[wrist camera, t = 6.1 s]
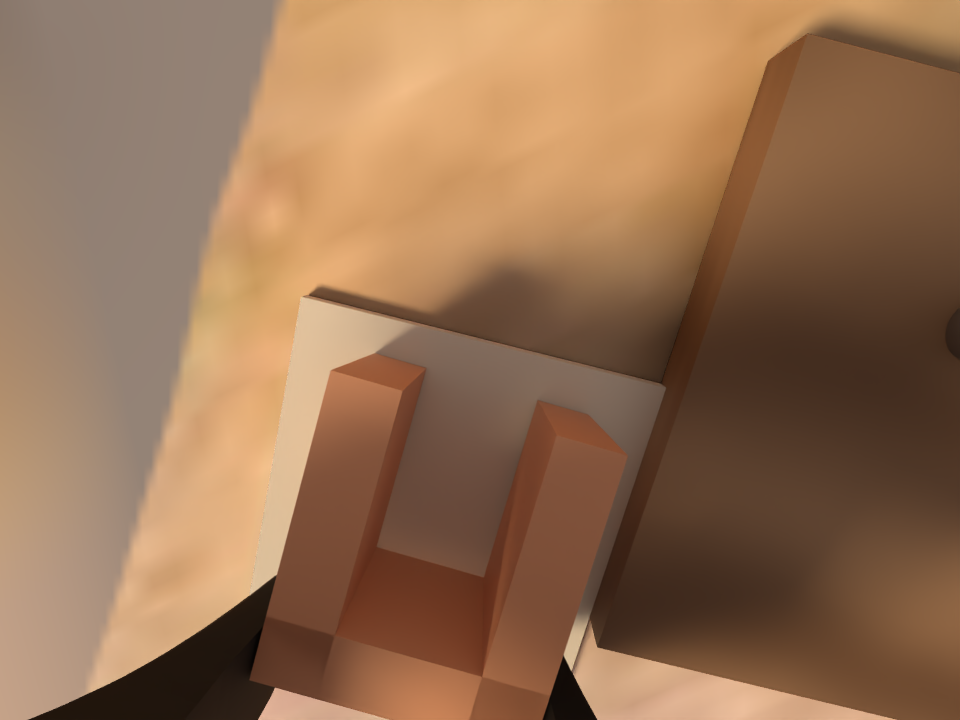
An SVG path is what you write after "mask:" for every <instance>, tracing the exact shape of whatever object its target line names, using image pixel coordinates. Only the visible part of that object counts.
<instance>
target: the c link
mask: <svg viewBox="0 0 960 720" xmlns="http://www.w3.org/2000/svg"><path fill="white" fill-rule="evenodd" d="M425 372H426V368H425V367H421V366H418V365H414V364H411V363H407V362H404V361H401V360H397V359H394V358H390V357H387V356H383V355H380V354H376V353H374V354H371V355H369V356H366V357H363V358H361V359H358V360H356V361H353V362H351V363H348V364H345V365H343V366H340V367H338V368H335V369H332V370H331V371H330V374H329V378H328V382H327V386H326V390H325V393H324V397H323V401H322V405H321V409H320V412H319V416H318V420H317V424H316V428H315V432H314V435H313V439H312V443H311V447H310V451H309V454H308V458H307V462H306V466H305V470H304V473H303V477H302V481H301V485H300V489H299V493H298V496H297V500H296V504H295V508H294V512H293V515H292V519H291V523H290V527H289V531H288V534H287V538H286V542H285V546H284V550H283V554H282V557H281V561H280V565H279V569H278V573H277V576H276V580H275V584H274V588H273V592H272V595H271V599H270V603H269V607H268V611H267V615H266V618H265V622H264V626H263V630H262V634H261V637H260V641H259V645H258V649H257V653H256V656H255V660H254V664H253V668H252V672H251V676H250V679H249V680H250V681H254V682H257V683H261V684H265V685H268V686H272V687H275V688H279V689H283V690H286V691H290V692H293V693H297V694H300V695H304V696H308V697H311V698H315V699H318V700H322V701H325V702H329V703H333V704H336V705H340V706H343V707H347V708H350V709H354V710H358V711H361V712H365V713H368V714H372V715H375V716H379V717H383V718H386V719H390V720H543V717H544V714H545V710H546V707H547V704H548V701H549V698H550V695H551V692H552V689H553V686H554V683H555V680H556V677H557V673H558V670H559V667H560V664H561V661H562V658H563V655H564V652H565V649H566V646H567V643H568V640H569V636H570V633H571V630H572V627H573V624H574V621H575V618H576V615H577V612H578V609H579V606H580V603H581V599H582V596H583V593H584V590H585V587H586V584H587V581H588V578H589V575H590V572H591V569H592V566H593V562H594V559H595V556H596V553H597V550H598V547H599V544H600V541H601V538H602V535H603V532H604V529H605V526H606V522H607V519H608V516H609V513H610V510H611V507H612V504H613V501H614V498H615V495H616V492H617V489H618V485H619V482H620V479H621V476H622V473H623V470H624V467H625V464H626V461H627V458H628V455H627V454H626V453H625V452H624V451H623V450H622V449H621V448H620V447H619V446H618V445H617V444H616V443H615V442H614V441H613V439H612V438H611V437H610V436H609V435H608V434H607V433H606V432H605V431H604V430H603V429H602V428H601V427H600V426H599V425H598V424H597V423H596V422H595V421H594V420H593V419H592V418H591V417H590V416H589V415H588V414H584V413H581V412H577V411H574V410H570V409H567V408H563V407H560V406H557V405H553V404H550V403H546V402H543V401H539V400H537V403H536V407H535V410H534V413H533V417H532V420H531V423H530V426H529V430H528V433H527V436H526V440H525V443H524V446H523V450H522V453H521V456H520V459H519V463H518V466H517V469H516V473H515V476H514V479H513V482H512V486H511V489H510V492H509V496H508V499H507V502H506V506H505V509H504V512H503V515H502V519H501V522H500V525H499V529H498V532H497V535H496V538H495V542H494V545H493V548H492V552H491V555H490V558H489V562H488V565H487V568H486V571H485V575H484V577H480V576H477V575H473V574H470V573H466V572H463V571H459V570H456V569H452V568H449V567H445V566H442V565H438V564H435V563H431V562H428V561H424V560H421V559H417V558H414V557H410V556H406V555H403V554H399V553H396V552H392V551H389V550H385V549H382V548H378V547H377V543H378V539H379V536H380V532H381V529H382V525H383V522H384V518H385V515H386V511H387V507H388V504H389V500H390V497H391V493H392V490H393V486H394V482H395V479H396V475H397V472H398V468H399V465H400V461H401V457H402V454H403V450H404V447H405V443H406V440H407V436H408V433H409V429H410V425H411V422H412V418H413V415H414V411H415V408H416V404H417V400H418V397H419V393H420V390H421V386H422V383H423V379H424V375H425Z"/></svg>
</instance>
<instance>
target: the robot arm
mask: <svg viewBox="0 0 960 720" xmlns="http://www.w3.org/2000/svg"><path fill="white" fill-rule="evenodd" d="M276 576H277V575H275V576H274V577H273V578H271V579H270V580H269V581H267V582H266V583H265V584H264V585H262V586H261V587H260V588H259V589H257V590H256V591H255V592H253V593H252V594H251V595H250V596H248V597H247V598H246V599H244V600H243V601H242V602H240V603H239V604H238V605H236V606H235V607H234V608H232V609H231V610H229V611H228V612H226V613H225V614H224V615H222V616H221V617H219V618H218V619H217V620H215V621H214V622H212V623H211V624H210V625H208V626H207V627H205V628H204V629H202V630H201V631H199V632H198V633H196V634H195V635H193V636H191V637H190V638H188V639H187V640H185V641H184V642H182V643H180V644H179V645H177V646H176V647H174V648H173V649H171V650H170V651H168V652H166V653H165V654H163V655H161V656H159V657H158V658H156V659H154V660H153V661H151V662H149V663H147V664H146V665H144V666H142V667H140V668H138V669H137V670H135V671H133V672H131V673H129V674H127V675H126V676H124V677H122V678H120V679H118V680H116V681H114V682H112V683H110V684H108V685H106V686H104V687H102V688H99V689H97V690H95V691H93V692H91V693H89V694H87V695H84V696H82V697H80V698H78V699H76V700H74V701H72V702H69V703H68V704H65V705H63V706H60V707H58V708H56V709H53V710H51V711H49V712H46V713H44V714H41V715H39V716H36V717H34V718H31V719H29V720H258V718H259V717H260V715H261V713H262V711H263V710H264V708H265V706H266V704H267V703H268V701H269V699H270V697H271V695H272V693H273V691H274V688H275V687H272V686H268V685H265V684H261V683H257V682H254V681H250V680H249V679H250V676H251V672H252V668H253V664H254V660H255V656H256V653H257V649H258V645H259V641H260V637H261V634H262V630H263V626H264V622H265V618H266V615H267V611H268V607H269V603H270V599H271V595H272V592H273V588H274V584H275V580H276ZM543 720H597V718H596V717H595V715H594V713H593V711H592V709H591V708H590V706H589V704H588V702H587V700H586V698H585V697H584V695H583V693H582V691H581V689H580V687H579V685H578V683H577V681H576V679H575V677H574V675H573V673H572V671H571V669H570V667H569V665H568V663H567V661H566V659H565V657H564V655H563V658H562V661H561V664H560V667H559V670H558V673H557V677H556V680H555V683H554V686H553V689H552V692H551V695H550V698H549V701H548V704H547V707H546V710H545V714H544V717H543Z"/></svg>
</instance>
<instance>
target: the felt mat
mask: <svg viewBox="0 0 960 720" xmlns="http://www.w3.org/2000/svg"><path fill="white" fill-rule="evenodd" d="M374 353H376V354H380V355H383V356H387V357H390V358H394V359H397V360H401V361H404V362H407V363H411V364H414V365H418V366H421V367H425V368H426V372H425V375H424V379H423V383H422V386H421V390H420V393H419V397H418V400H417V404H416V408H415V411H414V415H413V418H412V422H411V425H410V429H409V433H408V436H407V440H406V443H405V447H404V450H403V454H402V457H401V461H400V465H399V468H398V472H397V475H396V479H395V482H394V486H393V490H392V493H391V497H390V500H389V504H388V507H387V511H386V515H385V518H384V522H383V525H382V529H381V532H380V536H379V539H378V543H377V547H378V548H382V549H385V550H389V551H392V552H396V553H399V554H403V555H406V556H410V557H414V558H417V559H421V560H424V561H428V562H431V563H435V564H438V565H442V566H445V567H449V568H452V569H456V570H459V571H463V572H466V573H470V574H473V575H477V576H480V577H484V575H485V571H486V568H487V565H488V562H489V558H490V555H491V552H492V548H493V545H494V542H495V538H496V535H497V532H498V529H499V525H500V522H501V519H502V515H503V512H504V509H505V506H506V502H507V499H508V496H509V492H510V489H511V486H512V482H513V479H514V476H515V473H516V469H517V466H518V463H519V459H520V456H521V453H522V450H523V446H524V443H525V440H526V436H527V433H528V430H529V426H530V423H531V420H532V417H533V413H534V410H535V407H536V403H537V400H539V401H543V402H546V403H550V404H553V405H557V406H560V407H563V408H567V409H570V410H574V411H577V412H581V413H584V414H588V415H589V416H590V417H591V418H592V419H593V420H594V421H595V422H596V423H597V424H598V425H599V426H600V427H601V428H602V429H603V430H604V431H605V432H606V433H607V434H608V435H609V436H610V437H611V438H612V439H613V441H614V442H615V443H616V444H617V445H618V446H619V447H620V448H621V449H622V450H623V451H624V452H625V453H626V454H627V455H628V458H627V461H626V464H625V467H624V470H623V473H622V476H621V479H620V482H619V485H618V489H617V492H616V495H615V498H614V501H613V504H612V507H611V510H610V513H609V516H608V519H607V522H606V526H605V529H604V532H603V535H602V538H601V541H600V544H599V547H598V550H597V553H596V556H595V559H594V562H593V566H592V569H591V572H590V575H589V578H588V581H587V584H586V587H585V590H584V593H583V596H582V599H581V603H580V606H579V609H578V612H577V615H576V618H575V621H574V624H573V627H572V630H571V633H570V636H569V640H568V643H567V646H566V649H565V652H564V657H565V659H566V661H567V663H568V665H569V667H570V669H571V671H572V668H573V665H574V662H575V659H576V656H577V653H578V650H579V647H580V644H581V641H582V638H583V635H584V632H585V629H586V626H587V623H588V620H589V617H590V614H591V611H592V608H593V605H594V602H595V599H596V596H597V593H598V590H599V587H600V584H601V581H602V578H603V575H604V572H605V569H606V566H607V563H608V560H609V557H610V554H611V551H612V548H613V546H614V543H615V540H616V537H617V534H618V531H619V528H620V525H621V522H622V519H623V516H624V513H625V510H626V507H627V504H628V501H629V498H630V495H631V492H632V489H633V486H634V483H635V480H636V477H637V474H638V471H639V468H640V465H641V462H642V459H643V456H644V453H645V450H646V447H647V444H648V441H649V438H650V435H651V432H652V429H653V426H654V423H655V420H656V417H657V414H658V411H659V408H660V405H661V402H662V399H663V396H664V393H665V390H666V387H665V386H663V385H662V384H661V383H657V382H653V381H649V380H645V379H641V378H637V377H633V376H629V375H625V374H621V373H617V372H613V371H609V370H605V369H601V368H597V367H593V366H589V365H585V364H581V363H577V362H573V361H569V360H565V359H561V358H557V357H553V356H549V355H545V354H541V353H537V352H533V351H529V350H525V349H521V348H517V347H513V346H509V345H505V344H501V343H497V342H493V341H489V340H485V339H481V338H477V337H473V336H469V335H465V334H461V333H457V332H453V331H449V330H445V329H441V328H437V327H433V326H429V325H425V324H421V323H417V322H413V321H409V320H405V319H401V318H397V317H393V316H389V315H385V314H381V313H377V312H373V311H369V310H365V309H361V308H357V307H353V306H349V305H345V304H341V303H337V302H333V301H329V300H325V299H321V298H317V297H313V296H309V295H306V296H302V297H301V300H300V306H299V312H298V318H297V323H296V329H295V335H294V341H293V346H292V352H291V358H290V364H289V370H288V375H287V381H286V387H285V393H284V398H283V404H282V410H281V416H280V421H279V427H278V433H277V439H276V444H275V450H274V456H273V462H272V467H271V473H270V479H269V485H268V490H267V496H266V502H265V508H264V514H263V519H262V525H261V531H260V537H259V542H258V548H257V554H256V560H255V565H254V571H253V577H252V583H251V588H250V594H249V596H250V595H251V594H252V593H253V592H255V591H256V590H257V589H259V588H260V587H261V586H262V585H264V584H265V583H266V582H267V581H269V580H270V579H271V578H273V577H274V576H275V575H277V573H278V569H279V565H280V561H281V557H282V554H283V550H284V546H285V542H286V538H287V534H288V531H289V527H290V523H291V519H292V515H293V512H294V508H295V504H296V500H297V496H298V493H299V489H300V485H301V481H302V477H303V473H304V470H305V466H306V462H307V458H308V454H309V451H310V447H311V443H312V439H313V435H314V432H315V428H316V424H317V420H318V416H319V412H320V409H321V405H322V401H323V397H324V393H325V390H326V386H327V382H328V378H329V374H330V371H331V370H332V369H335V368H338V367H340V366H343V365H345V364H348V363H351V362H353V361H356V360H358V359H361V358H363V357H366V356H369V355H371V354H374Z"/></svg>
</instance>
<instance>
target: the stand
mask: <svg viewBox="0 0 960 720" xmlns="http://www.w3.org/2000/svg"><path fill="white" fill-rule="evenodd" d="M661 384H662V385H663V386H665V387H666V390H665V393H664V396H663V399H662V402H661V405H660V408H659V411H658V414H657V417H656V420H655V423H654V426H653V429H652V432H651V435H650V438H649V441H648V444H647V447H646V450H645V453H644V456H643V459H642V462H641V465H640V468H639V471H638V474H637V477H636V480H635V483H634V486H633V489H632V492H631V495H630V498H629V501H628V504H627V507H626V510H625V513H624V516H623V519H622V522H621V525H620V528H619V531H618V534H617V537H616V540H615V543H614V546H613V548H612V551H611V554H610V557H609V560H608V563H607V566H606V569H605V572H604V575H603V578H602V581H601V584H600V587H599V590H598V593H597V596H596V599H595V602H594V605H593V608H592V611H591V614H590V620H591V624H592V628H593V632H594V636H595V640H596V644H597V647H598V648H603V649H607V650H611V651H615V652H619V653H623V654H627V655H632V656H636V657H640V658H644V659H648V660H652V661H656V662H661V663H665V664H669V665H673V666H677V667H681V668H685V669H690V670H694V671H698V672H702V673H706V674H710V675H714V676H719V677H723V678H727V679H731V680H735V681H739V682H743V683H748V684H752V685H756V686H760V687H764V688H768V689H772V690H777V691H781V692H785V693H789V694H793V695H797V696H801V697H806V698H810V699H814V700H818V701H822V702H826V703H830V704H835V705H839V706H843V707H847V708H851V709H855V710H859V711H864V712H868V713H872V714H876V715H880V716H884V717H888V718H893V719H897V720H960V73H957V72H953V71H949V70H945V69H942V68H938V67H934V66H930V65H926V64H923V63H919V62H915V61H911V60H907V59H903V58H900V57H896V56H892V55H888V54H884V53H881V52H877V51H873V50H869V49H865V48H861V47H858V46H854V45H850V44H846V43H842V42H839V41H835V40H831V39H827V38H823V37H819V36H816V35H812V34H806V35H805V36H803V37H802V38H800V39H799V40H798V41H796V42H795V43H793V44H792V45H790V46H789V47H788V48H786V49H785V50H783V51H782V52H780V53H779V54H778V55H776V56H775V57H773V58H772V59H770V60H769V61H768V63H767V66H766V69H765V72H764V75H763V78H762V81H761V84H760V87H759V90H758V93H757V97H756V100H755V103H754V106H753V109H752V112H751V115H750V118H749V121H748V124H747V127H746V130H745V133H744V136H743V139H742V142H741V145H740V148H739V151H738V154H737V157H736V160H735V163H734V166H733V169H732V172H731V175H730V178H729V181H728V184H727V187H726V190H725V193H724V196H723V199H722V202H721V205H720V208H719V211H718V214H717V217H716V220H715V223H714V226H713V229H712V232H711V235H710V238H709V241H708V244H707V247H706V250H705V253H704V256H703V259H702V262H701V265H700V268H699V271H698V274H697V277H696V280H695V283H694V286H693V289H692V292H691V295H690V298H689V301H688V304H687V307H686V311H685V314H684V317H683V320H682V323H681V326H680V329H679V332H678V335H677V338H676V341H675V344H674V347H673V350H672V353H671V356H670V359H669V362H668V365H667V368H666V371H665V374H664V377H663V380H662V383H661Z"/></svg>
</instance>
